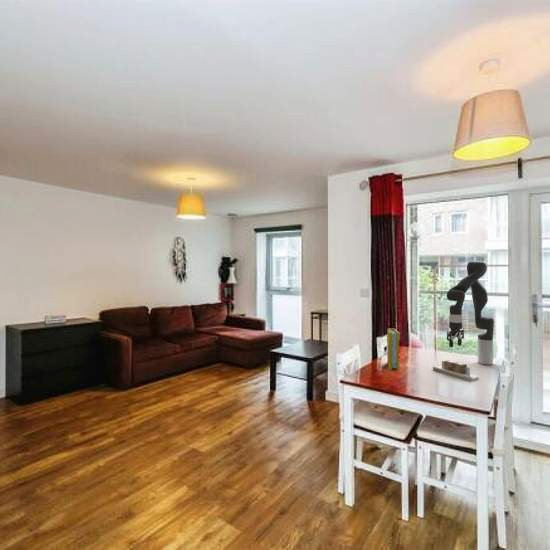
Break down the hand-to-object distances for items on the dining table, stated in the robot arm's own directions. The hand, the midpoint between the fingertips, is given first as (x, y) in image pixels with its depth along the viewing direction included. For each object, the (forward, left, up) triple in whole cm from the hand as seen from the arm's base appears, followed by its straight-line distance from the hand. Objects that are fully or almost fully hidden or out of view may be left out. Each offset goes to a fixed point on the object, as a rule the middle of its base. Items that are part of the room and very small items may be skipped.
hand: (455, 346), depth 224 cm
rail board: (+1, 0, -18) cm, 18 cm away
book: (+21, -33, -18) cm, 43 cm away
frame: (0, 0, -17) cm, 17 cm away
